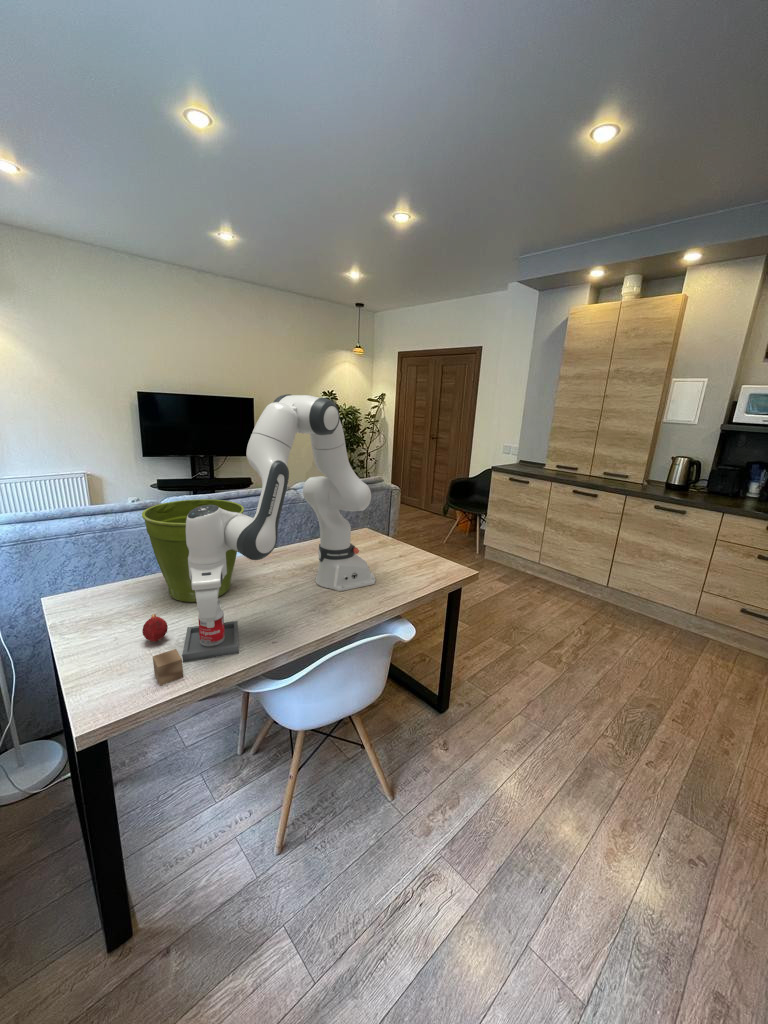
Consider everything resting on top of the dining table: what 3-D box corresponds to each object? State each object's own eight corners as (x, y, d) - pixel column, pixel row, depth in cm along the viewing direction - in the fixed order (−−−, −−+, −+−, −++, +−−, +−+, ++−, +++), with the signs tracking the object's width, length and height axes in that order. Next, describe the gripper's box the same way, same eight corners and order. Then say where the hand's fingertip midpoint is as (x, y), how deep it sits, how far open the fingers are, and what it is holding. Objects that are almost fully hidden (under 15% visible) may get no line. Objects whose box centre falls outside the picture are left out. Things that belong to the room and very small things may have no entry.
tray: (237, 627, 114) (237, 620, 114) (238, 653, 102) (238, 646, 102) (188, 634, 110) (187, 627, 109) (182, 662, 98) (182, 654, 97)
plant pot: (161, 576, 144) (154, 499, 137) (247, 570, 153) (244, 498, 146) (139, 617, 117) (129, 524, 109) (245, 607, 126) (242, 520, 118)
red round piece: (172, 641, 106) (169, 615, 104) (148, 650, 102) (145, 622, 100) (163, 633, 109) (161, 607, 107) (140, 641, 105) (137, 614, 103)
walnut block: (177, 666, 96) (176, 648, 95) (183, 677, 93) (181, 659, 91) (154, 674, 93) (152, 656, 92) (159, 686, 89) (157, 667, 88)
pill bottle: (197, 648, 102) (194, 610, 99) (202, 635, 108) (200, 598, 105) (222, 646, 104) (220, 608, 101) (226, 633, 109) (225, 597, 107)
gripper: (197, 555, 109) (201, 600, 113) (190, 587, 91) (195, 640, 94) (222, 553, 111) (225, 597, 115) (220, 584, 93) (223, 635, 96)
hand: (211, 616), depth 104 cm, fingers open, 8 cm apart
